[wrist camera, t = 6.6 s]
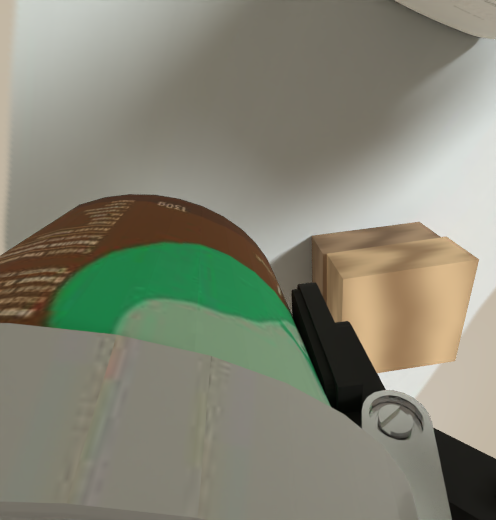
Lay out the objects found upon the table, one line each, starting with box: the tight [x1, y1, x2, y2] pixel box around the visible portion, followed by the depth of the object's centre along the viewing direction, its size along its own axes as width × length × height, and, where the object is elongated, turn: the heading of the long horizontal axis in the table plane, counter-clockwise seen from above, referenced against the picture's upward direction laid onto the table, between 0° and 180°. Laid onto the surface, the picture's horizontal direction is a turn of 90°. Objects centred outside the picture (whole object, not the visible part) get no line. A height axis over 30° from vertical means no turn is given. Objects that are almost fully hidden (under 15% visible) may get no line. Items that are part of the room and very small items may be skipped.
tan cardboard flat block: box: [312, 222, 440, 304], centre depth 33 cm, size 10×10×4 cm
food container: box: [0, 194, 419, 520], centre depth 8 cm, size 12×6×10 cm, turn 19°
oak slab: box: [327, 237, 479, 373], centre depth 29 cm, size 10×10×4 cm
